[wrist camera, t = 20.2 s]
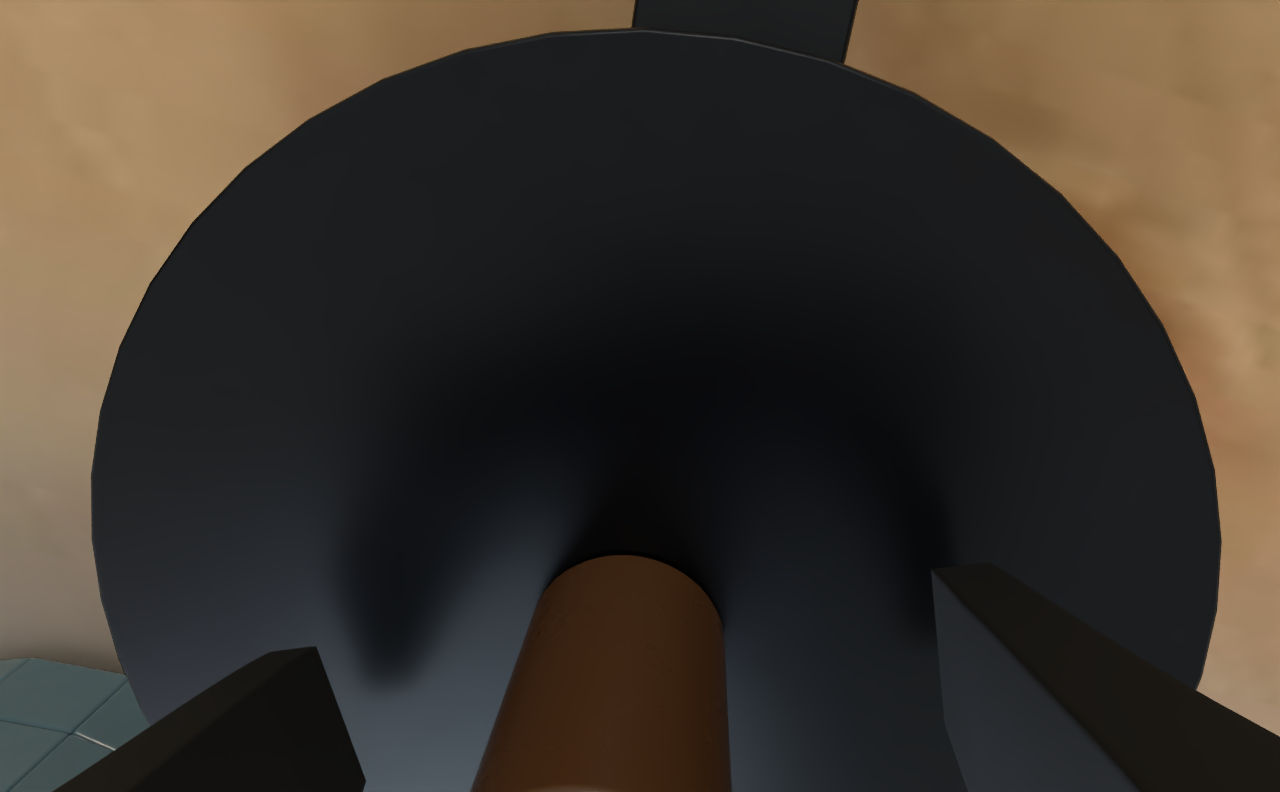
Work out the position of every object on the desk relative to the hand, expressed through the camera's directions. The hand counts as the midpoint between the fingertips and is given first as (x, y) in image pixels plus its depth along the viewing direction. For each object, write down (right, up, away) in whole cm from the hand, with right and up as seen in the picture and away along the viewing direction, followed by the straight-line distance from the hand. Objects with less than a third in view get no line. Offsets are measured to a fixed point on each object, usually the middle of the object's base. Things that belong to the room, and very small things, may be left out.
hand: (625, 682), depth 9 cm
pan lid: (0, +1, +1) cm, 1 cm away
